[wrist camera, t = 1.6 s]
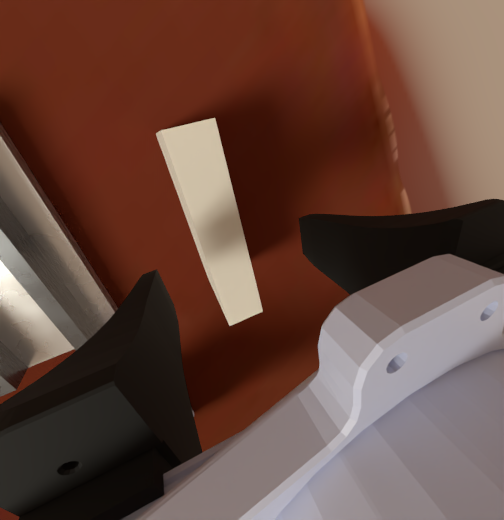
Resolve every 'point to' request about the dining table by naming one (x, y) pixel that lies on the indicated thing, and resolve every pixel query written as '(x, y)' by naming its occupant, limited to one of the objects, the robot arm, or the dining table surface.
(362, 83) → the dining table surface
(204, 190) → the door panel
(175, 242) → the dining table surface
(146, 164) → the dining table surface
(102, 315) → the bottom track
